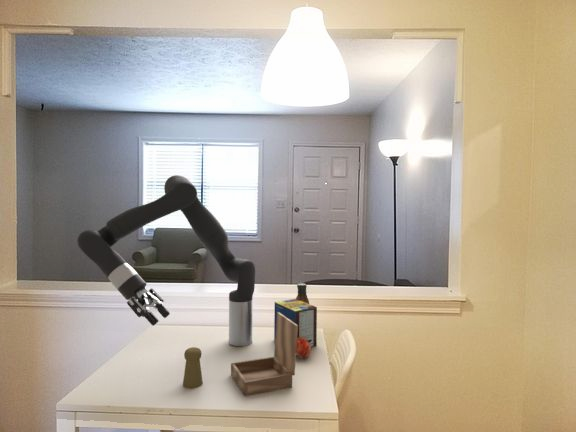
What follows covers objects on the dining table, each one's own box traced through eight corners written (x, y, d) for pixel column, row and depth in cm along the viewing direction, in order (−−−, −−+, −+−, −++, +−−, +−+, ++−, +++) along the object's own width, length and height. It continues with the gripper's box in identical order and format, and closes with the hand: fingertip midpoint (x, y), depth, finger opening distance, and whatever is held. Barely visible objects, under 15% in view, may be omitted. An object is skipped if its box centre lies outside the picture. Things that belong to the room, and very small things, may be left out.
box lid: (276, 312, 139) (279, 312, 139) (273, 357, 139) (276, 357, 139) (295, 325, 125) (298, 325, 125) (291, 375, 125) (294, 375, 126)
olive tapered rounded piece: (198, 389, 123) (198, 353, 123) (179, 387, 125) (179, 351, 124) (205, 380, 129) (206, 346, 129) (188, 378, 130) (188, 344, 130)
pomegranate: (293, 367, 145) (316, 351, 144) (281, 349, 147) (304, 334, 145) (297, 361, 153) (318, 346, 151) (286, 344, 154) (307, 329, 153)
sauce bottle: (311, 328, 182) (312, 283, 181) (306, 332, 176) (307, 286, 175) (298, 325, 185) (298, 282, 184) (292, 330, 179) (293, 284, 178)
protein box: (294, 334, 173) (295, 298, 172) (316, 346, 160) (317, 306, 159) (273, 339, 167) (273, 301, 166) (294, 351, 154) (295, 310, 154)
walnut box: (230, 375, 133) (231, 363, 133) (274, 368, 139) (274, 356, 139) (244, 396, 120) (244, 382, 119) (292, 387, 125) (292, 374, 125)
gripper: (124, 277, 121) (161, 317, 120) (145, 269, 135) (179, 306, 134) (106, 294, 121) (143, 334, 120) (130, 284, 135) (163, 321, 135)
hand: (162, 319), depth 127 cm, fingers open, 8 cm apart
